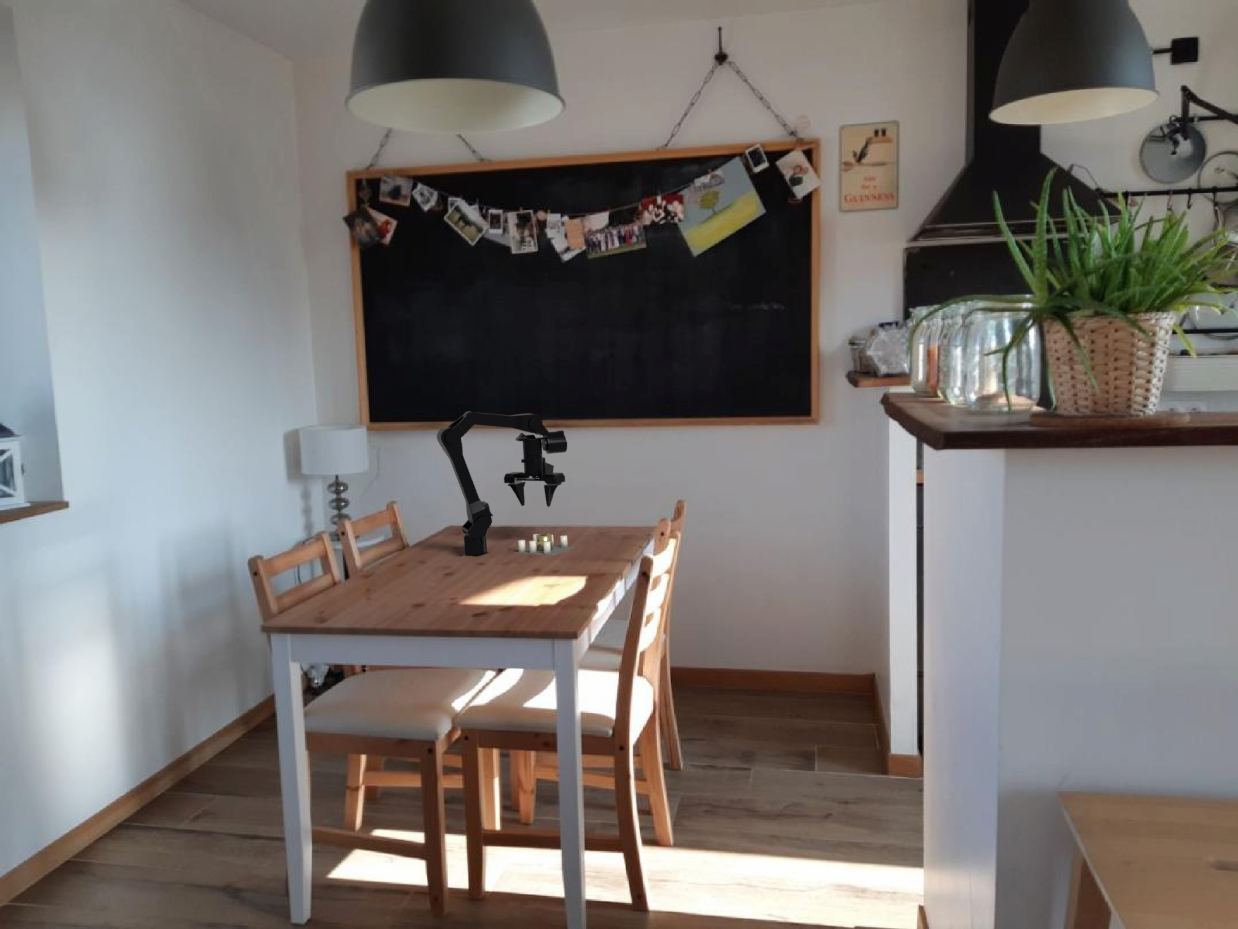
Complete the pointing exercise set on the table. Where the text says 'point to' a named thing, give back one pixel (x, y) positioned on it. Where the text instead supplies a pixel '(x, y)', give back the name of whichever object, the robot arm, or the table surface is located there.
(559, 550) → the mat
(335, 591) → the table surface
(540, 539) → the knob
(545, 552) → the spacers
